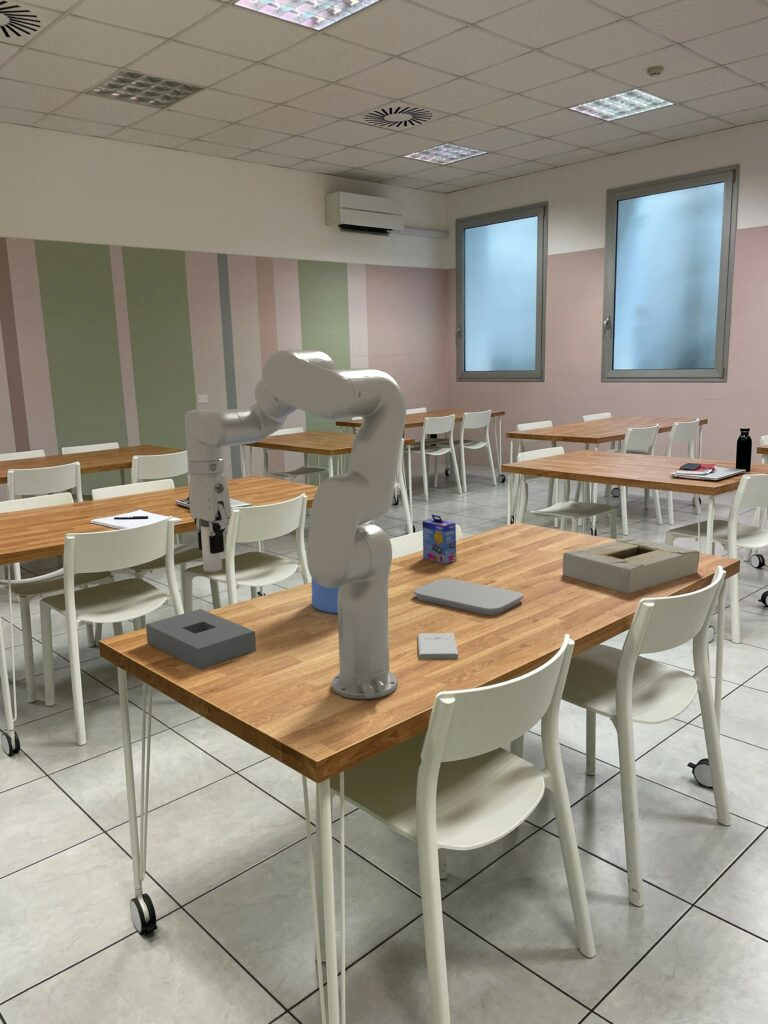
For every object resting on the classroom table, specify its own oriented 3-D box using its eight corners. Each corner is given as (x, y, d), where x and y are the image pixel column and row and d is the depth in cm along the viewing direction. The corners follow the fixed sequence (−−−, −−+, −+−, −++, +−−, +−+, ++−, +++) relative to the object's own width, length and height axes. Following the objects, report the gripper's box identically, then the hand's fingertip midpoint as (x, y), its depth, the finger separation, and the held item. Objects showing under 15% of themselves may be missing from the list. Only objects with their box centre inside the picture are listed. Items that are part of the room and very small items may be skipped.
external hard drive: (419, 661, 159) (417, 639, 171) (458, 660, 158) (454, 639, 171) (419, 653, 158) (417, 632, 171) (458, 653, 158) (454, 632, 170)
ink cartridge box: (421, 558, 238) (421, 513, 235) (434, 555, 242) (433, 510, 239) (444, 564, 231) (444, 517, 228) (457, 560, 234) (457, 515, 232)
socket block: (256, 650, 165) (254, 630, 164) (199, 669, 155) (198, 648, 154) (201, 627, 180) (200, 609, 179) (147, 643, 170) (145, 624, 170)
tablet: (444, 585, 211) (444, 577, 211) (527, 602, 195) (527, 593, 194) (409, 599, 199) (408, 591, 198) (494, 619, 183) (494, 610, 182)
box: (629, 596, 198) (699, 573, 217) (630, 568, 197) (700, 547, 215) (561, 578, 217) (630, 558, 235) (561, 552, 215) (631, 534, 234)
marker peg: (222, 570, 165) (219, 516, 162) (203, 572, 164) (199, 518, 161) (222, 565, 169) (219, 513, 166) (203, 567, 168) (199, 514, 165)
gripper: (242, 469, 158) (247, 554, 162) (201, 462, 170) (206, 541, 174) (211, 473, 153) (216, 561, 157) (171, 466, 165) (177, 547, 169)
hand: (211, 549), depth 165 cm, fingers closed on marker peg, 4 cm apart
